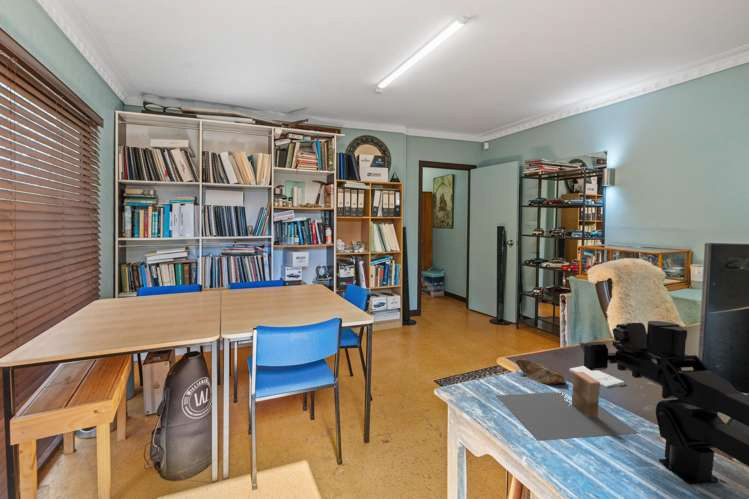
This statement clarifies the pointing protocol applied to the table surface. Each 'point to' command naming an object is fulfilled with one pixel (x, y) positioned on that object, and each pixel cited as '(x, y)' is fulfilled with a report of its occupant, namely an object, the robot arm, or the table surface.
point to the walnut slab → (585, 394)
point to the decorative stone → (539, 372)
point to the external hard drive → (599, 376)
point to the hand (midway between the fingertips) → (597, 343)
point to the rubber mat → (560, 417)
